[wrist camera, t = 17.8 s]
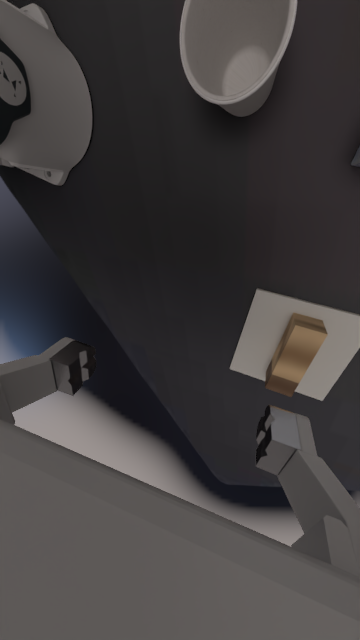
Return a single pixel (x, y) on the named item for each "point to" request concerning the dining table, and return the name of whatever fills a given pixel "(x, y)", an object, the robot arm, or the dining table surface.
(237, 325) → the dining table surface
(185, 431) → the dining table surface
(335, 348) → the mat
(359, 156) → the medicine box
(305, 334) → the wooden block
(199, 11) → the dixie cup
